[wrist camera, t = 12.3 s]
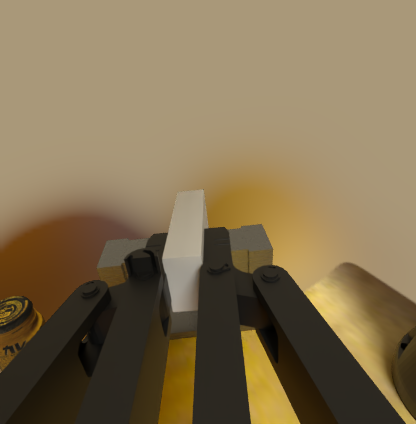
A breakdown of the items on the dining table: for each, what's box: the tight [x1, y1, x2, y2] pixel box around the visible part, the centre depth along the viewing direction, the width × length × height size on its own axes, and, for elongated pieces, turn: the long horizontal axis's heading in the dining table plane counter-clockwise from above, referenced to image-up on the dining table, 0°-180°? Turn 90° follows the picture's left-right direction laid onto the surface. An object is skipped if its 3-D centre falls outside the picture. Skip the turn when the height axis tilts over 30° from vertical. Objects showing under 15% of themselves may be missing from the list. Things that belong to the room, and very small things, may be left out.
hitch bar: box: [97, 224, 273, 340], centre depth 44 cm, size 24×8×13 cm, turn 94°
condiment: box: [0, 296, 45, 371], centre depth 37 cm, size 7×8×12 cm
